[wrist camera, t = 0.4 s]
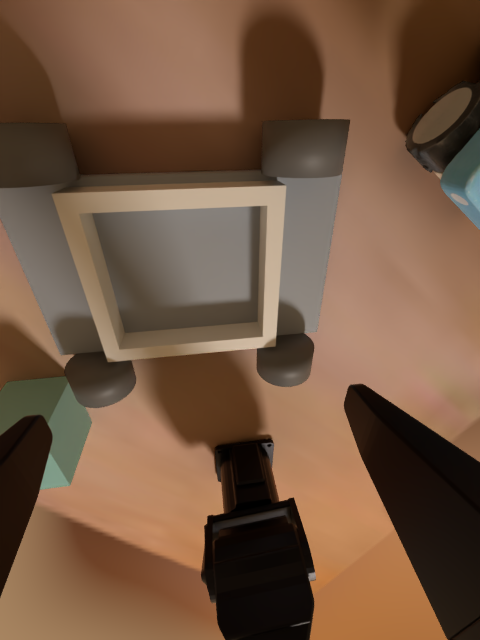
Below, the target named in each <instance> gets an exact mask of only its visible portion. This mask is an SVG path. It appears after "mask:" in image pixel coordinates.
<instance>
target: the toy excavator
mask: <svg viewBox="0 0 480 640" xmlns="http://www.w3.org/2000/svg"><path fill="white" fill-rule="evenodd" d="M433 103H436V104H435V105H434V106H433V107H431V109H430V110H429V111H428V112H427V113H426V114H425V115H424V116H423V117H422V114H421V115H420V116H419V117H418V118H417V120H416V121H415V123H414V124H413V126H412V129H411V130H410V131H409V133H408V135H407V140H406V141H405V142H406V147H407V150H408V151H409V152H410V153H411V154H412V156H413V157H414V158H415V159H416V160H417V161H418V162H419V163H420V164H421V165H422V166H423V168H425V169H426V170H427V171H429V172H430V173H431V172H432V170H433V171H434V173H435V174H436V175H437V176H438V177H439V178H440V179H441V180H440V184H441V187H442V189H443V191H444V192H445V194H446V195H447V196H448V197H449V198H450V199H451V200H452V201H453V202H454V203H455V204H456V205H457V206H458V207H459V208H460V210H461V211H462V212H463V213H464V214H465V215H466V216H467V217H468V218H469V219H470V220H471V221H472V222H473V223H474V224H475V226H476V227H477V228H478V229H479V230H480V82H478V83H477V84H474V83H470V82H466V81H462V82H461V83H460V84H457V85H456V86H454V87H453V88H451V89H450V90H449V91H448V92H447V93H445V94H444V95H442V96H441V97H440V98H438V99H436V100H434V101H433ZM421 117H422V118H421Z"/></svg>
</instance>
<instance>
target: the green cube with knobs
mask: <svg viewBox="0 0 480 640" xmlns="http://www.w3.org/2000/svg"><path fill="white" fill-rule="evenodd" d="M38 414H40V415H43V416H44V418H45V420H46V422H47V424H48V425H49V427H50V429H51V431H52V435H53V441H52V445H51V449H50V453H49V456H48V460H47V464H46V468H45V472H44V476H43V479H42V483H41V487H40V490H41V489H49V488H56V487H63V486H70V485H71V482H72V479H73V476H74V473H75V470H76V467H77V464H78V461H79V459H80V456H81V453H82V450H83V447H84V444H85V441H86V438H87V435H88V432H89V430H90V427H91V424H92V421H91V419H90V417H89V414H88V412H87V410H86V408H85V406H83V405H81V404H79V403H78V402H77V400H76V398H75V396H74V393H73V391H72V389H71V387H70V385H69V382H68V380H67V378H66V376H62V377H52V378H42V379H32V380H21V381H11V382H7V383H6V384H5V385H4V387H3V388H2V390H1V391H0V435H1V434H3V433H4V432H5V431H6V430H8V429H9V428H10V427H11V426H13V425H14V424H15V423H16V422H18V421H19V420H20V419H21V418H23V417H24V416H27V415H38Z"/></svg>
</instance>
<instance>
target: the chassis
mask: <svg viewBox="0 0 480 640" xmlns="http://www.w3.org/2000/svg"><path fill="white" fill-rule="evenodd" d="M349 125H350V120H344V119H319V120H278V121H263V122H262V162H261V170H228V171H193V172H158V173H124V174H89V175H80V174H79V170H78V166H77V163H76V159H75V156H74V152H73V148H72V145H71V141H70V138H69V134H68V130H67V127H66V124H60V123H0V219H1V221H2V223H3V225H4V228H5V230H6V232H7V234H8V237H9V239H10V241H11V244H12V246H13V248H14V250H15V253H16V255H17V257H18V259H19V262H20V264H21V266H22V268H23V271H24V273H25V275H26V278H27V280H28V282H29V284H30V287H31V289H32V291H33V293H34V296H35V298H36V300H37V302H38V305H39V307H40V309H41V311H42V314H43V316H44V318H45V321H46V323H47V325H48V327H49V330H50V332H51V334H52V336H53V339H54V341H55V343H56V345H57V348H58V350H59V352H60V354H61V355H68V354H76V355H75V356H73V357H72V358H71V359H70V360H69V361H68V363H67V364H66V366H65V370H64V373H65V376H66V378H67V380H68V382H69V385H70V387H71V389H72V391H73V393H74V396H75V398H76V400H77V402H78V403H79V404H81V405H83V406H85V407H89V408H100V407H105V406H109V405H112V404H114V403H116V402H118V401H120V400H122V399H123V398H125V397H126V396H127V395H128V394H129V393H130V392H131V391H132V389H133V388H134V386H135V384H136V375H135V372H134V368H133V365H132V361H131V360H138V359H148V358H159V357H169V356H180V355H190V354H201V353H212V352H222V351H233V350H243V349H254V348H257V372H258V374H259V375H260V376H261V378H263V379H264V380H265V381H267V382H268V383H270V384H273V385H276V386H281V387H292V386H296V385H299V384H301V383H303V382H305V381H306V380H307V379H308V377H309V375H310V372H311V365H312V359H313V353H314V344H313V341H312V340H311V339H310V338H309V337H308V336H307V335H305V334H304V333H311V332H317V329H318V322H319V316H320V310H321V303H322V297H323V291H324V284H325V278H326V272H327V266H328V259H329V253H330V247H331V240H332V234H333V228H334V221H335V215H336V209H337V202H338V196H339V190H340V184H341V177H342V171H343V163H344V157H345V150H346V144H347V138H348V131H349Z"/></svg>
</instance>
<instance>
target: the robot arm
mask: <svg viewBox="0 0 480 640" xmlns="http://www.w3.org/2000/svg"><path fill="white" fill-rule="evenodd" d="M344 409H345V413H346V415H347V418H348V421H349V424H350V427H351V430H352V432H353V435H354V438H355V441H356V444H357V447H358V449H359V452H360V455H361V457H362V459H363V462H364V464H365V466H366V468H367V470H368V472H369V475H370V477H371V479H372V481H373V483H374V485H375V487H376V489H377V492H378V494H379V496H380V498H381V500H382V502H383V504H384V506H385V508H386V511H387V513H388V515H389V517H390V519H391V521H392V523H393V525H394V528H395V530H396V532H397V534H398V536H399V538H400V540H401V542H402V544H403V547H404V548H405V551H406V553H407V555H408V557H409V559H410V561H411V564H412V566H413V568H414V570H415V572H416V574H417V576H418V578H419V580H420V583H421V585H422V587H423V589H424V591H425V593H426V595H427V597H428V599H429V602H430V604H431V606H432V608H433V610H434V612H435V614H436V616H437V619H438V621H439V622H440V625H441V627H442V629H443V631H444V633H445V636H446V637H447V639H448V640H480V462H479V461H477V460H476V459H474V458H473V457H471V456H470V455H468V454H467V453H465V452H464V451H462V450H461V449H459V448H458V447H456V446H455V445H453V444H452V443H450V442H449V441H447V440H446V439H444V438H443V437H441V436H440V435H439V434H437V433H436V432H434V431H433V430H431V429H430V428H428V427H427V426H425V425H424V424H422V423H421V422H419V421H418V420H416V419H415V418H413V417H412V416H410V415H409V414H407V413H406V412H404V411H403V410H401V409H400V408H398V407H397V406H395V405H394V404H392V403H391V402H389V401H388V400H386V399H385V398H383V397H382V396H380V395H379V394H378V393H376V392H375V391H373V390H372V389H370V388H369V387H367V386H366V385H364V384H353V385H350V386H349V387H348V390H347V394H346V397H345V401H344ZM52 441H53V435H52V431H51V429H50V427H49V425H48V424H47V422H46V420H45V418H44V416H43V415H40V414H38V415H27V416H24V417H23V418H21V419H20V420H19V421H18V422H16V423H15V424H14V425H13V426H11V427H10V428H9V429H8V430H6V431H5V432H4V433H3V434H1V435H0V596H1V594H2V591H3V589H4V586H5V583H6V581H7V578H8V575H9V573H10V570H11V567H12V564H13V562H14V559H15V556H16V554H17V551H18V548H19V546H20V543H21V541H22V538H23V535H24V532H25V530H26V527H27V525H28V522H29V519H30V517H31V514H32V511H33V509H34V506H35V503H36V500H37V497H38V494H39V491H40V487H41V483H42V479H43V476H44V472H45V468H46V464H47V460H48V456H49V453H50V449H51V445H52ZM273 450H274V443H273V440H271V439H269V440H261V441H253V442H245V443H238V444H230V445H222V446H217V447H216V448H215V456H216V466H217V477H218V481H219V482H221V484H222V496H223V508H224V514H219V515H214V516H213V515H209V516H208V517H207V524H206V525H205V526H204V529H205V548H204V556H203V563H202V571H201V578H202V581H203V582H204V583H205V584H206V585H207V589H208V592H209V596H210V600H211V602H212V603H216V610H217V621H218V625H219V628H220V630H221V632H222V634H223V636H224V638H225V640H310V633H311V626H312V619H313V611H314V598H313V594H312V590H311V586H310V581H314V580H316V576H315V570H314V565H313V560H312V556H311V552H310V548H309V545H308V541H307V538H306V534H305V531H304V528H303V525H302V522H301V519H300V516H299V513H298V509H297V506H296V503H295V500H294V497H293V498H289V499H288V500H285V501H280V502H279V497H278V493H277V489H276V485H275V480H274V476H273V472H272V462H273Z"/></svg>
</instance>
